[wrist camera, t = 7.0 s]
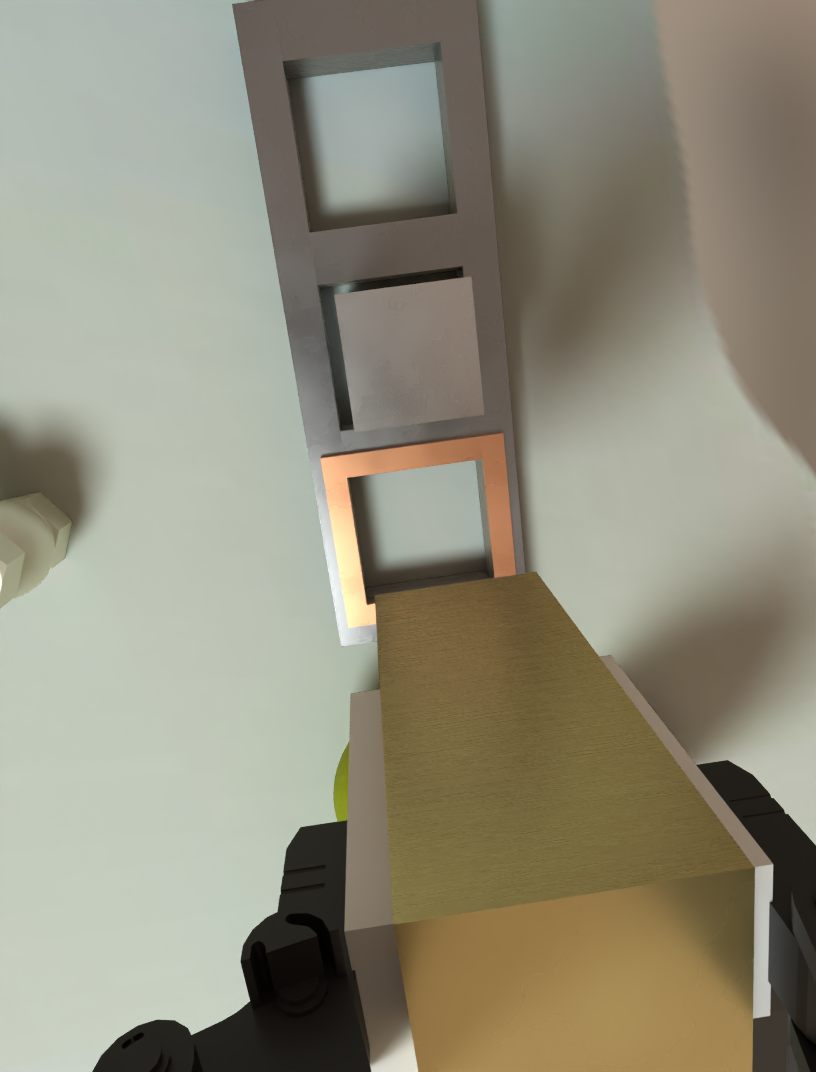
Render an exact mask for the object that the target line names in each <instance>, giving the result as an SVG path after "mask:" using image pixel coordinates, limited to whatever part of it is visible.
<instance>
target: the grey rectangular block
mask: <svg viewBox="0 0 816 1072" xmlns="http://www.w3.org/2000/svg"><path fill="white" fill-rule="evenodd" d="M334 297H335V304H336V311H337V317H338V324H339V331H340V337H341V344H342V351H343V357H344V364H345V371H346V378H347V384H348V391H349V398H350V404H351V411H352V418H353V424H354V431H355V432H361V431H369V430H376V429H383V428H391V427H398V426H405V425H412V424H420V423H427V422H434V421H442V420H449V419H456V418H463V417H471V416H478V415H485V414H484V404H483V393H482V383H481V373H480V362H479V352H478V341H477V331H476V321H475V310H474V300H473V289H472V279H471V277H464V278H456V279H449V280H441V281H434V282H426V283H418V284H411V285H403V286H396V287H388V288H380V289H373V290H365V291H358V292H350V293H342V294H335V295H334Z"/></svg>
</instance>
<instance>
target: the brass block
mask: <svg viewBox="0 0 816 1072" xmlns="http://www.w3.org/2000/svg"><path fill="white" fill-rule="evenodd" d="M375 610H376V627H377V644H378V662H379V679H380V697H381V714H382V732H383V749H384V767H385V784H386V802H387V819H388V837H389V854H390V872H391V889H392V906H393V924H394V930H395V936H396V942H397V948H398V954H399V960H400V966H401V972H402V978H403V984H404V990H405V996H406V1002H407V1008H408V1014H409V1020H410V1026H411V1032H412V1038H413V1044H414V1049H415V1055H416V1061H417V1067H418V1072H752V1061H753V984H754V907H755V867H754V866H753V864H752V863H751V862H750V860H749V859H748V858H747V856H746V855H745V854H744V852H743V851H742V849H741V848H740V847H739V845H738V844H737V843H736V841H735V840H734V839H733V837H732V836H731V835H730V833H729V832H728V831H727V829H726V828H725V826H724V825H723V824H722V822H721V821H720V820H719V818H718V817H717V816H716V814H715V813H714V812H713V810H712V809H711V808H710V806H709V805H708V803H707V802H706V801H705V799H704V798H703V797H702V795H701V794H700V793H699V791H698V790H697V789H696V787H695V786H694V785H693V783H692V782H691V780H690V779H689V778H688V776H687V775H686V774H685V772H684V771H683V770H682V768H681V767H680V766H679V764H678V763H677V762H676V760H675V759H674V757H673V756H672V755H671V753H670V752H669V751H668V749H667V748H666V747H665V745H664V744H663V743H662V741H661V740H660V739H659V737H658V736H657V734H656V733H655V732H654V730H653V729H652V728H651V726H650V725H649V724H648V722H647V721H646V720H645V718H644V717H643V716H642V714H641V713H640V711H639V710H638V709H637V707H636V706H635V705H634V703H633V702H632V701H631V699H630V698H629V697H628V695H627V694H626V693H625V691H624V690H623V688H622V687H621V686H620V684H619V683H618V682H617V680H616V679H615V678H614V676H613V675H612V674H611V672H610V671H609V670H608V668H607V667H606V665H605V664H604V663H603V661H602V660H601V659H600V657H599V656H598V655H597V653H596V652H595V651H594V649H593V648H592V647H591V645H590V644H589V642H588V641H587V640H586V638H585V637H584V636H583V634H582V633H581V632H580V630H579V629H578V628H577V626H576V625H575V624H574V622H573V621H572V620H571V618H570V617H569V615H568V614H567V613H566V611H565V610H564V609H563V607H562V606H561V605H560V603H559V602H558V601H557V599H556V598H555V597H554V595H553V594H552V592H551V591H550V590H549V588H548V587H547V586H546V584H545V583H544V582H543V580H542V579H541V578H540V576H539V575H538V574H537V572H532V573H525V574H518V575H511V576H504V577H497V578H490V579H483V580H476V581H469V582H462V583H456V584H449V585H442V586H435V587H428V588H421V589H414V590H407V591H400V592H393V593H386V594H380V595H375Z"/></svg>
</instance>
